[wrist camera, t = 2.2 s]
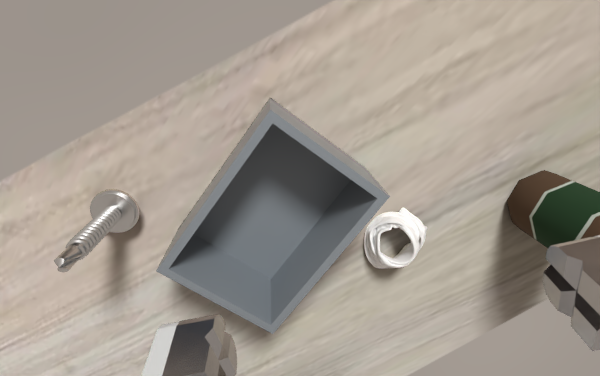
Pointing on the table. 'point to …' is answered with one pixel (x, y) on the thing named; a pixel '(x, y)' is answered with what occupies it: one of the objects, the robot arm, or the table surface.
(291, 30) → the table surface
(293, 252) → the tote
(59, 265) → the screw
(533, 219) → the beer bottle
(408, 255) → the white crumpled ring
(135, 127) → the table surface
